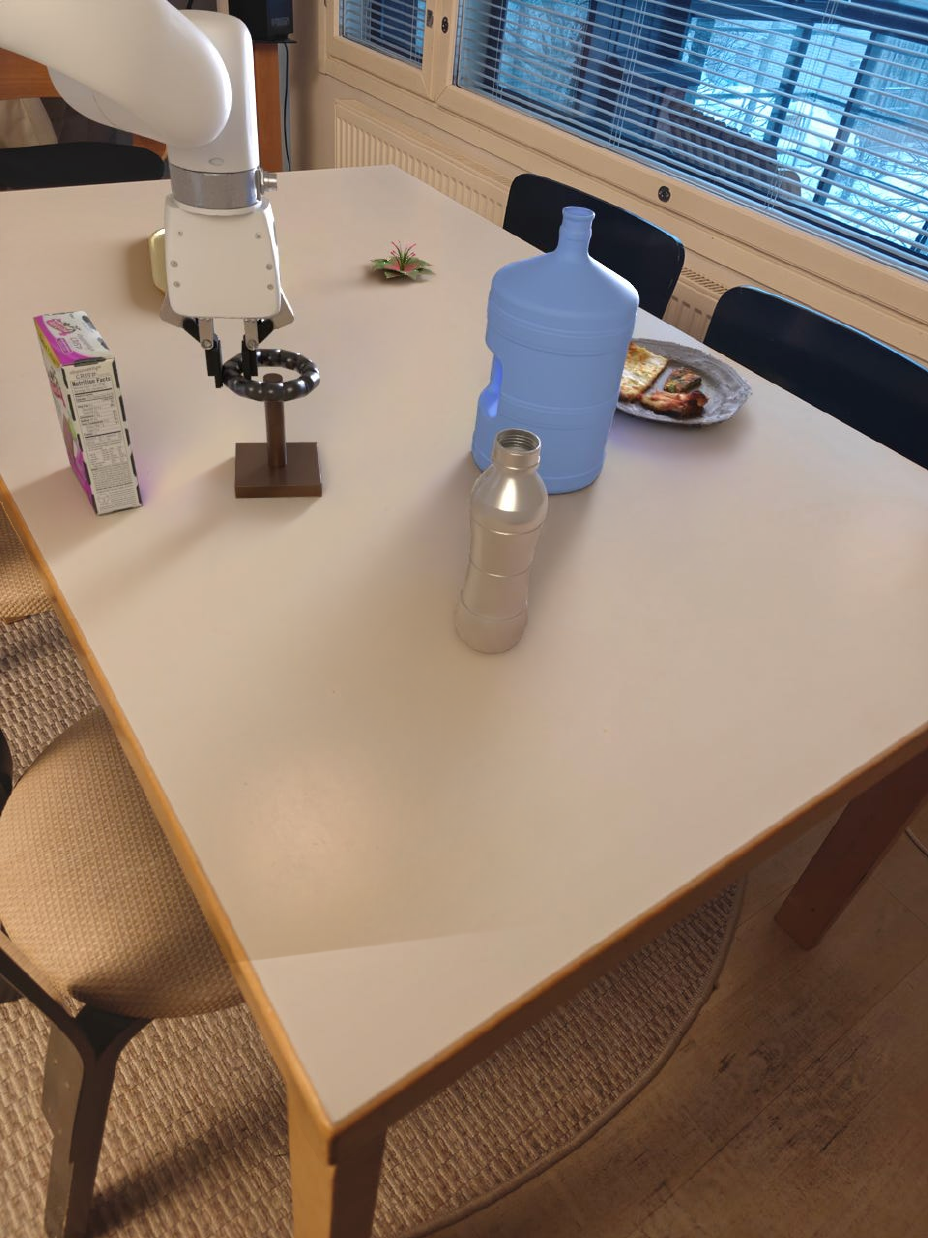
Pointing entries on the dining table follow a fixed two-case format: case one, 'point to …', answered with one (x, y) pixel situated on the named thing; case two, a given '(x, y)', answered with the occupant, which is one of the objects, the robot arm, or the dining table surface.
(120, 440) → the candy bar box
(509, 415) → the water jug
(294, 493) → the post
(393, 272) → the lily flower
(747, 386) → the food plate
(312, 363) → the ring
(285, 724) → the dining table surface
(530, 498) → the plastic bottle
